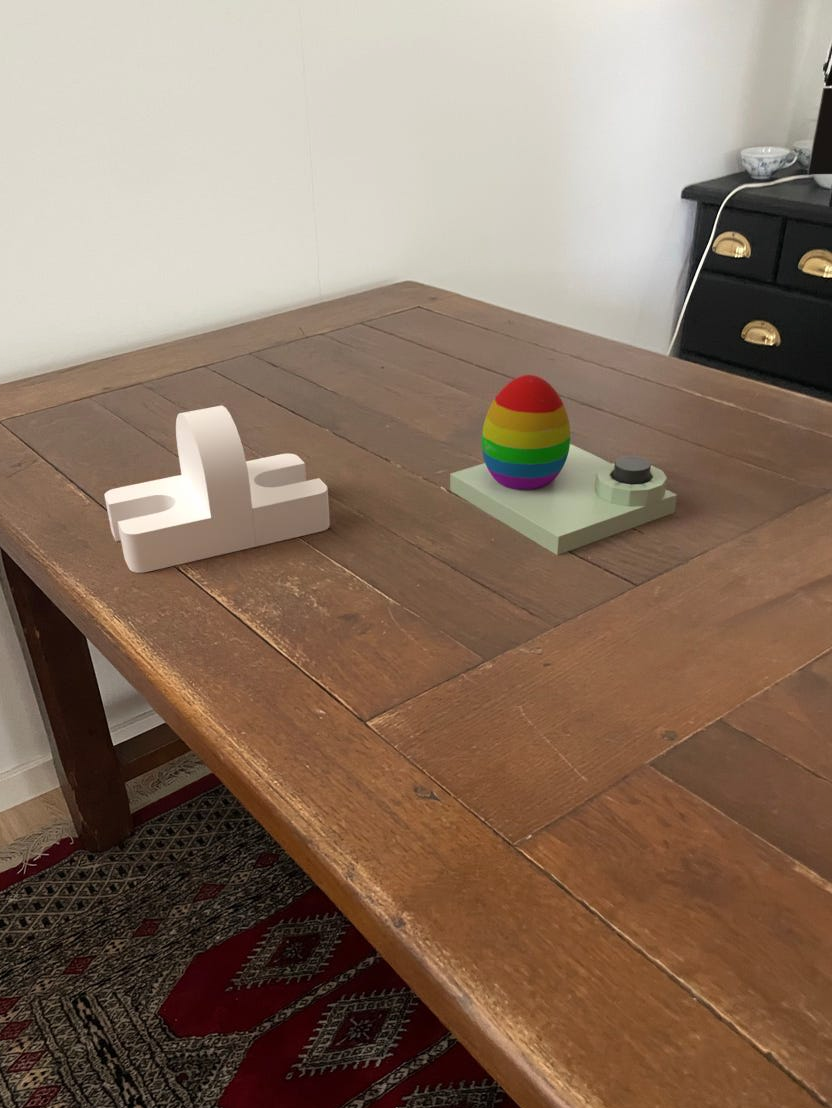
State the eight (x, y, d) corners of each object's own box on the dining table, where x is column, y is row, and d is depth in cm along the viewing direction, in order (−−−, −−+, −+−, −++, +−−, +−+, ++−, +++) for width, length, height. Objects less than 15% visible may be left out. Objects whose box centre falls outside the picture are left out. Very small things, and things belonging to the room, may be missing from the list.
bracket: (296, 486, 103) (287, 376, 97) (333, 528, 95) (326, 411, 89) (109, 527, 97) (86, 413, 91) (132, 575, 89) (109, 453, 83)
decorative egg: (483, 497, 95) (486, 393, 89) (478, 461, 101) (481, 362, 96) (572, 496, 94) (581, 391, 89) (561, 459, 101) (569, 360, 95)
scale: (675, 513, 95) (680, 478, 93) (557, 556, 89) (560, 520, 87) (560, 456, 106) (563, 424, 104) (449, 491, 101) (450, 458, 99)
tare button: (656, 480, 93) (658, 464, 92) (630, 489, 92) (632, 473, 91) (631, 468, 96) (633, 453, 95) (605, 477, 94) (607, 461, 93)
